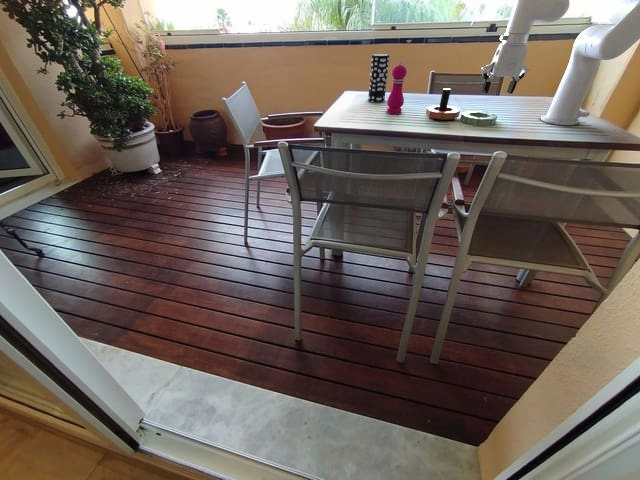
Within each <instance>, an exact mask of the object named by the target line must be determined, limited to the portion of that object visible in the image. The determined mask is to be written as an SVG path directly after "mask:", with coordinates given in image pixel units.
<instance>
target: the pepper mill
mask: <svg viewBox="0 0 640 480" xmlns="http://www.w3.org/2000/svg"><path fill="white" fill-rule="evenodd" d="M403 64H404V63H403V61H402V60H400V61H398V62H397V65H396V66H394V67H393V68H392V71H391V76H392V78H391V79H392V80H391V83H392V87H391V90H390V94H389V95H388V97H387V100H386V105H387V108H386V113H387V114H388V115H401V113H402V109H403V108H402V107H403V105H404V103H405V98H404V93H403V84H404V83H405V77H406V76H407V75H408V69H407V67H405V66H404V65H403Z"/></svg>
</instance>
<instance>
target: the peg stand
mask: <svg viewBox="0 0 640 480" xmlns="http://www.w3.org/2000/svg"><path fill="white" fill-rule="evenodd" d="M451 91H452V89H451V88H448V87H447V88H446V87H445V88H443V89H442V91H441V97H440V101H439V105H438V106H439V110H438V111H443V112H445V111H446V109H447V106H449V105H448V104H449V100H450V95H451ZM430 118H431V119H432V120H433V121H454V120H455V119H437V118H432V117H430Z"/></svg>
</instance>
